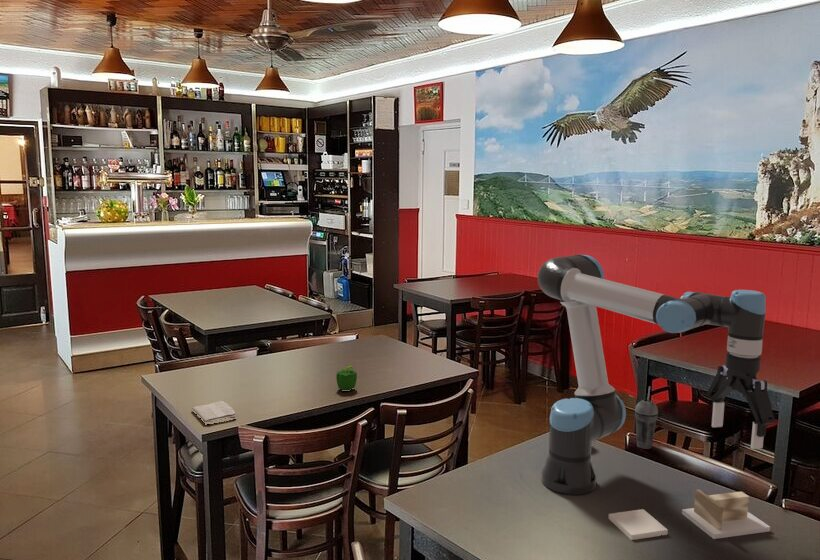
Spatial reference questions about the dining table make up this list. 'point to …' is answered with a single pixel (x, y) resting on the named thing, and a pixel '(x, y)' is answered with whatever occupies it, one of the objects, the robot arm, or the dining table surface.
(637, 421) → the beverage cup
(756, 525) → the board
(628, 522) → the tile
